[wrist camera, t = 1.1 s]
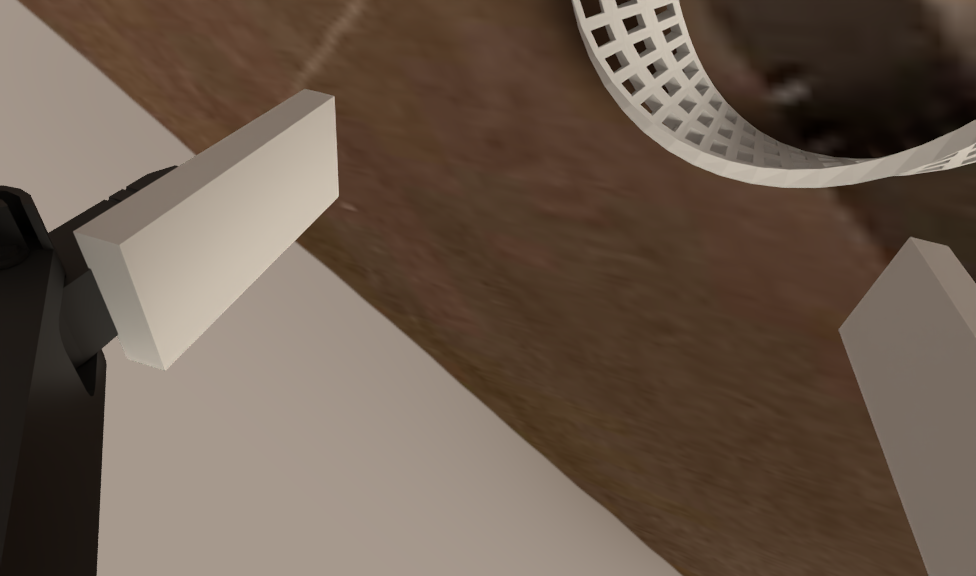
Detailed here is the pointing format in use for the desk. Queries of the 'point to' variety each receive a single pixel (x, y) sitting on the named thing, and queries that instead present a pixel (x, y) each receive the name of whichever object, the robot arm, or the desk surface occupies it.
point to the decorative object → (726, 110)
